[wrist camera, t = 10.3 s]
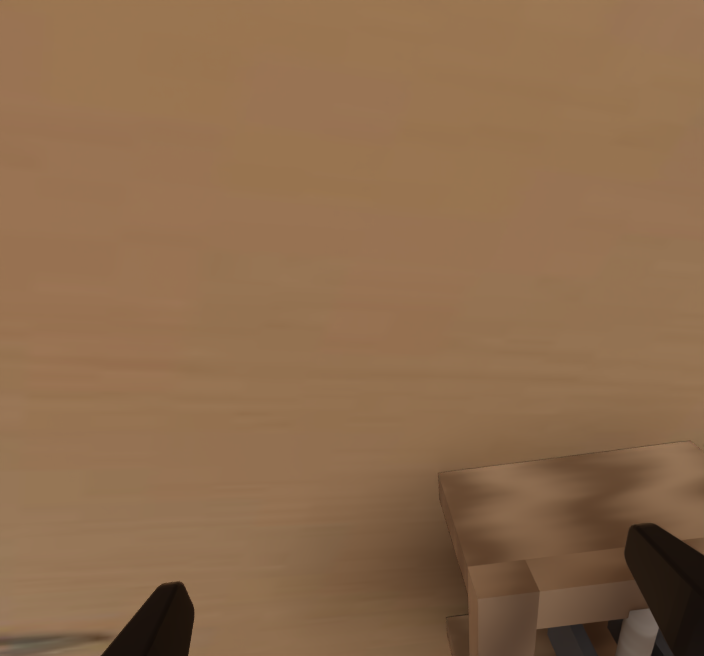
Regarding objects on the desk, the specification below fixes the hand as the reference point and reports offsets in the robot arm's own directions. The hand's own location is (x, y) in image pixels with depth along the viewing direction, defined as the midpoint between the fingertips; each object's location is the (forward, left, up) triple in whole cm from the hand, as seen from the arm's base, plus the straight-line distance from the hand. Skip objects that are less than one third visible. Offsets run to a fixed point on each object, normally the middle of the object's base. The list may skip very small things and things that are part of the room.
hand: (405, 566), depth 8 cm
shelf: (-10, +17, -12) cm, 23 cm away
